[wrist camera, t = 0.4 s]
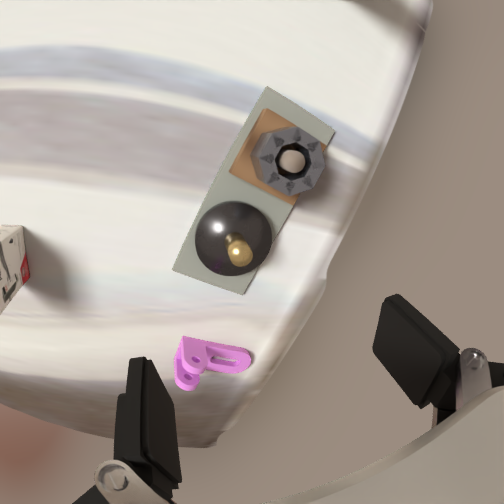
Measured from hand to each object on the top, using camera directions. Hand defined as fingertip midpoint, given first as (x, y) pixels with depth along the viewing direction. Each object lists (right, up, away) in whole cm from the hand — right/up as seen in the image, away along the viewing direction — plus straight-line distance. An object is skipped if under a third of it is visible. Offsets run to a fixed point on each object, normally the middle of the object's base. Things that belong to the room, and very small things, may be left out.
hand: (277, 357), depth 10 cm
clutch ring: (+3, +15, +22) cm, 27 cm away
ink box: (-36, +4, +20) cm, 42 cm away
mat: (-1, +11, +26) cm, 28 cm away
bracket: (-7, -14, +36) cm, 39 cm away
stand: (+2, +16, +24) cm, 29 cm away
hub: (-4, +6, +27) cm, 28 cm away
